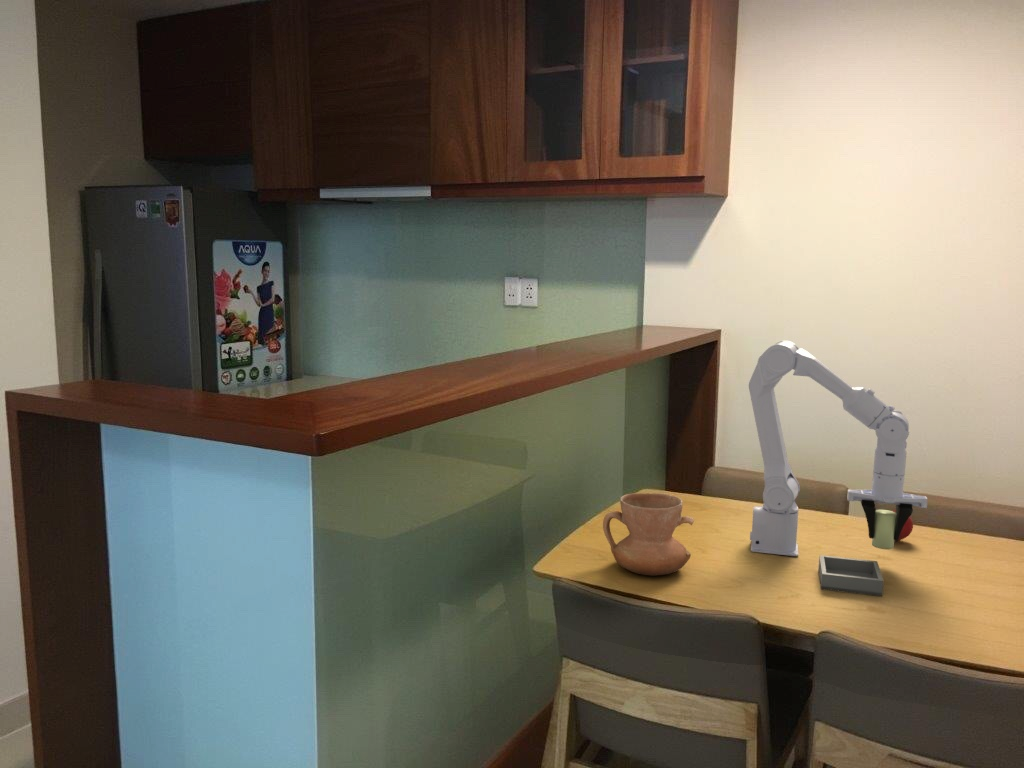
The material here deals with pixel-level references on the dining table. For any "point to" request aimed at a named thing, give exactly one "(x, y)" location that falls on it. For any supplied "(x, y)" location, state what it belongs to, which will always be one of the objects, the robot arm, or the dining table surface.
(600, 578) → the dining table surface
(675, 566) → the ceramic jug
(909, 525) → the onion
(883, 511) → the pale green cylinder
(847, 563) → the tray
